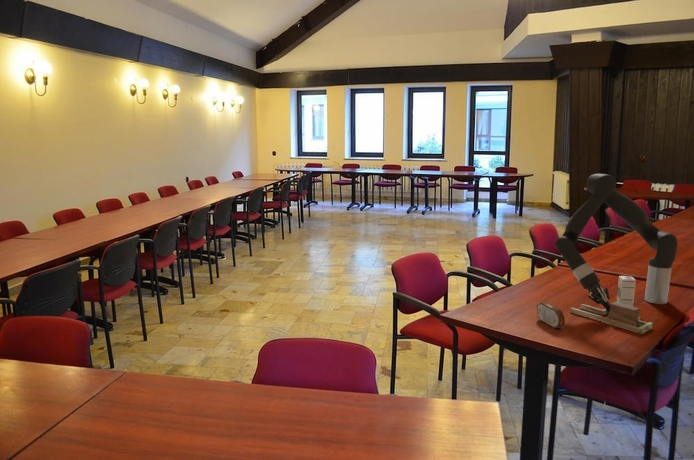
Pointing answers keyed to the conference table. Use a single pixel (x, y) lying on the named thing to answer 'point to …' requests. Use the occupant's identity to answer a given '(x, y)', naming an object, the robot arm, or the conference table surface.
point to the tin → (550, 315)
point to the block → (624, 313)
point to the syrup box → (626, 290)
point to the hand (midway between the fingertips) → (610, 310)
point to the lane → (643, 325)
